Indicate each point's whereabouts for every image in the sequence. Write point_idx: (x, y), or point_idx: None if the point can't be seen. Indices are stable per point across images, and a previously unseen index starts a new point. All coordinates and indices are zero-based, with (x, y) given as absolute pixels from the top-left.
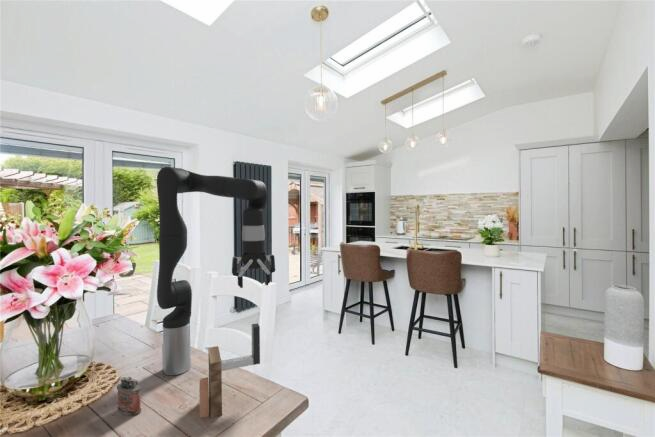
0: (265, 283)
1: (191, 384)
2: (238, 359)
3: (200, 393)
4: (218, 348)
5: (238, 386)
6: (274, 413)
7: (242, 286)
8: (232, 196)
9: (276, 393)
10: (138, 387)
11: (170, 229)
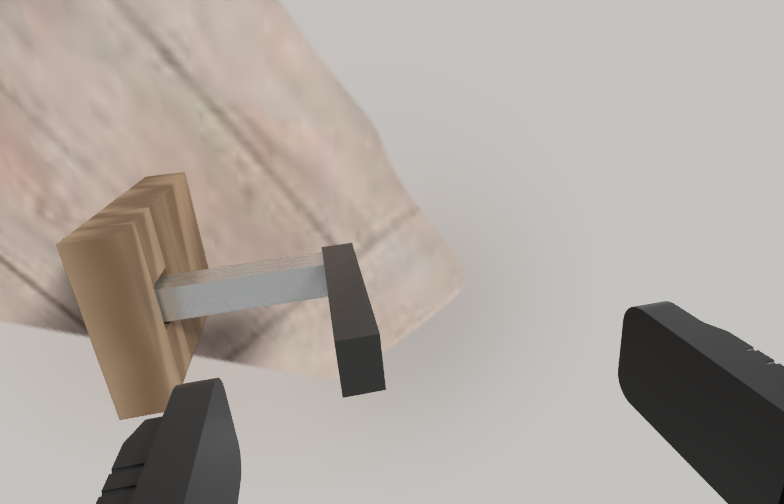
0: (635, 356)
1: (31, 47)
2: (255, 295)
3: None
4: (127, 269)
5: (261, 135)
6: (377, 321)
7: (234, 483)
8: None
9: (400, 224)
10: None
11: None
